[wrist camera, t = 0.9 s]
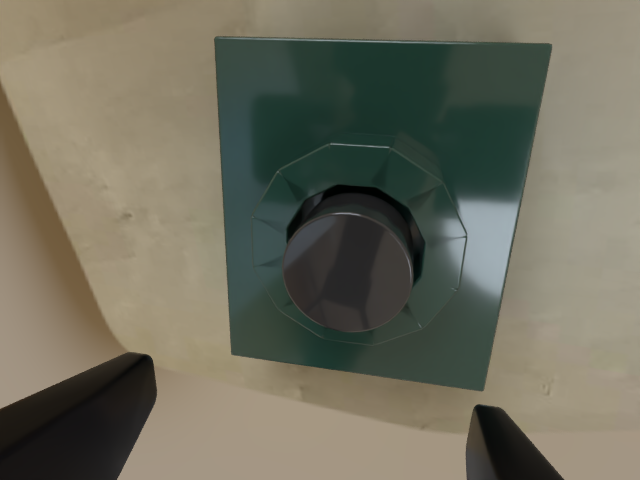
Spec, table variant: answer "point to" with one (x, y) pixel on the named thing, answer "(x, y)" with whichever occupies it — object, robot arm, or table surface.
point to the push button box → (377, 187)
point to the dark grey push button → (350, 263)
